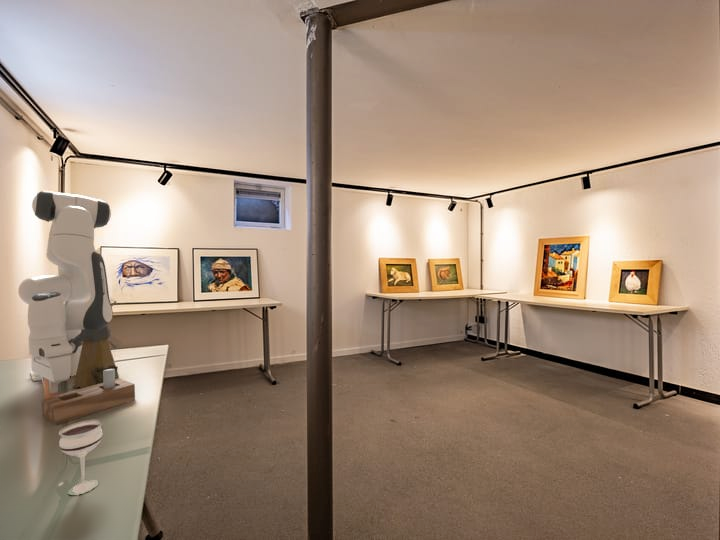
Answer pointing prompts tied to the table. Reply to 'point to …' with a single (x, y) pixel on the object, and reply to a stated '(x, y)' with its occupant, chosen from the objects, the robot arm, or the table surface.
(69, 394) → the peg block
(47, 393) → the peg
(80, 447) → the wineglass
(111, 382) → the seated peg
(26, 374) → the table surface
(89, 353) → the windmill
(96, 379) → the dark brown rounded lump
